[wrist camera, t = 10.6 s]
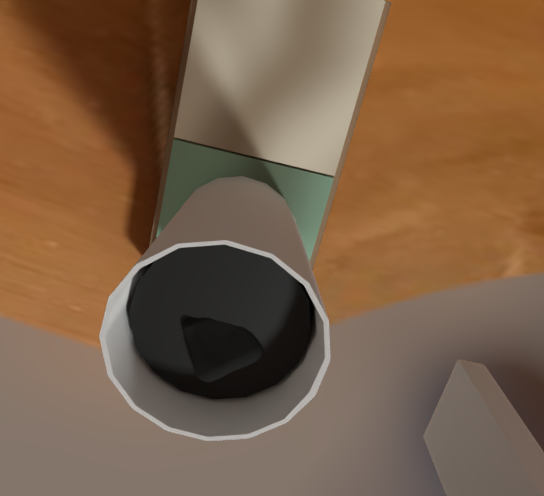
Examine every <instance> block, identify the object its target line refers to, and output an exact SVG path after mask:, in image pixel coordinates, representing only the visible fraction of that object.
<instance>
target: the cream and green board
mask: <svg viewBox="0 0 544 496" xmlns="http://www.w3.org/2000/svg"><path fill="white" fill-rule="evenodd" d="M390 6H391V2H388V1H384V0H191V5H190V11H189V16H188V22H187V28H186V34H185V40H184V46H183V52H182V57H181V63H180V69H179V75H178V81H177V87H176V93H175V98H174V104H173V110H172V116H171V122H170V128H169V134H168V139H167V145H166V151H165V157H164V163H163V169H162V175H161V181H160V186H159V192H158V198H157V204H156V210H155V216H154V222H153V227H152V233H151V239H150V245H149V247H150V246H151V244H152V243H153V242H154V241H155V239H156V238H157V237H158V236H159V234H160V233H161V232H162V231H163V229H164V228H165V227H166V226H167V225H168V223H169V222H170V221H171V220H172V218H173V217H174V216H175V215H176V213H177V212H178V211H179V210H180V208H181V207H182V206H183V205H184V203H185V202H186V201H187V200H188V198H189V197H190V196H191V195H192V194H193V192H194V191H195V190H196V189H197V188H199V187H201V186H203V185H205V184H207V183H209V182H211V181H213V180H215V179H217V178H222V177H235V176H245V177H248V178H251V179H254V180H257V181H260V182H263V183H266V184H268V185H269V186H270V187H271V188H272V189H274V190H275V191H276V192H277V193H278V194H280V195H281V196H282V197H283V198H284V199H285V200H286V202H287V204H288V206H289V208H290V210H291V212H292V214H293V216H294V218H295V219H296V223H297V226H298V229H299V232H300V235H301V238H302V241H303V244H304V247H305V250H306V253H307V256H308V259H309V262H310V265H311V268H312V270H313V266H314V263H315V260H316V256H317V253H318V250H319V246H320V243H321V239H322V236H323V233H324V229H325V226H326V222H327V219H328V216H329V212H330V209H331V205H332V202H333V199H334V195H335V192H336V189H337V185H338V182H339V178H340V175H341V172H342V168H343V165H344V161H345V158H346V155H347V151H348V148H349V144H350V141H351V138H352V134H353V131H354V128H355V124H356V121H357V117H358V114H359V111H360V107H361V104H362V100H363V97H364V94H365V90H366V87H367V83H368V80H369V77H370V73H371V70H372V67H373V63H374V60H375V56H376V53H377V50H378V46H379V43H380V39H381V36H382V33H383V29H384V26H385V22H386V19H387V16H388V12H389V9H390Z"/></svg>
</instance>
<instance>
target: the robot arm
mask: <svg viewBox="0 0 544 496" xmlns="http://www.w3.org/2000/svg"><path fill="white" fill-rule="evenodd" d="M423 438H424V440H425V442H426V445H427V448H428V450H429V452H430V455H431V458H432V460H433V463H434V465H435V468H436V470H437V473H438V475H439V478H440V480H441V483H442V485H443V488H444V490H445V493H446V495H447V496H544V452H543V450H542V449H541V448H540V446H539V445H538V443H537V442H536V440H535V439H534V438H533V436H532V434H531V433H530V431H529V430H528V428H527V427H526V425H525V424H524V423H523V421H522V420H521V418H520V417H519V415H518V414H517V412H516V411H515V409H514V408H513V407H512V405H511V403H510V402H509V400H508V399H507V398H506V396H505V395H504V393H503V392H502V390H501V389H500V387H499V386H498V384H497V383H496V381H495V380H494V378H493V377H492V376H491V374H490V373H489V371H488V370H487V368H486V367H485V365H483V364H478V363H474V362H469V361H465V360H460V359H458V360H457V363H456V365H455V367H454V369H453V371H452V374H451V376H450V378H449V380H448V383H447V385H446V387H445V389H444V391H443V394H442V396H441V398H440V400H439V402H438V405H437V407H436V409H435V412H434V414H433V416H432V418H431V420H430V423H429V425H428V427H427V429H426V431H425V434H424V436H423Z"/></svg>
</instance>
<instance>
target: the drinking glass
mask: <svg viewBox="0 0 544 496" xmlns="http://www.w3.org/2000/svg"><path fill="white" fill-rule="evenodd" d="M99 338H100V342H101V347H102V351H103V356H104V360H105V365H106V369H107V374H108V376H109V378H110V379H111V380H112V382H113V383H114V385H115V386H116V387H117V389H118V390H119V391H120V393H121V394H122V395H123V397H124V398H125V400H126V401H127V402H128V404H129V405H130V406H131V408H132V409H134V410H136V411H137V412H139V413H140V414H142V415H143V416H145V417H146V418H148V419H149V420H151V421H152V422H154V423H155V424H157V425H159V426H160V427H162V428H163V429H165V430H166V431H170V432H173V433H177V434H181V435H186V436H189V437H193V438H197V439H201V440H205V441H216V440H232V439H247V438H251V437H254V436H256V435H258V434H261V433H263V432H265V431H268V430H270V429H273V428H275V427H277V426H280V425H282V424H285V423H287V422H288V421H289V420H290V419H291V418H292V417H293V416H294V415H295V414H296V413H297V412H298V411H299V410H301V409H302V408H303V406H305V405H306V404H307V403H308V402H309V401H310V400H311V399H312V398H313V397H314V396H315V395H316V393H317V390H318V388H319V386H320V383H321V381H322V379H323V376H324V374H325V372H326V369H327V367H328V365H329V362H330V337H329V319H328V316H327V313H326V310H325V307H324V304H323V301H322V298H321V295H320V292H319V289H318V286H317V283H316V280H315V277H314V274H313V271H312V268H311V265H310V262H309V259H308V256H307V253H306V250H305V247H304V244H303V241H302V238H301V235H300V232H299V229H298V226H297V223H296V219H295V218H294V216H293V214H292V212H291V210H290V208H289V206H288V204H287V202H286V200H285V199H284V198H283V197H282V196H281V195H280V194H278V193H277V192H276V191H275V190H274V189H272V188H271V187H270V186H269V185H268V184H266V183H263V182H260V181H257V180H254V179H251V178H248V177H245V176H235V177H222V178H217V179H215V180H213V181H211V182H209V183H207V184H205V185H203V186H201V187H199V188H197V189H196V190H195V191H194V192H193V194H192V195H191V196H190V197H189V198H188V200H187V201H186V202H185V203H184V205H183V206H182V207H181V208H180V210H179V211H178V212H177V213H176V215H175V216H174V217H173V218H172V220H171V221H170V222H169V223H168V225H167V226H166V227H165V228H164V229H163V231H162V232H161V233H160V234H159V236H158V237H157V238H156V239H155V241H154V242H153V243H152V244H151V246H150V247H149V248H148V249H147V251H146V252H145V253H144V254H143V256H142V257H141V258H140V259H139V260H138V262H137V263H136V264H135V265H134V267H133V268H132V269H131V270H130V272H129V273H128V274H127V275H126V277H125V278H124V279H123V280H122V282H121V283H120V284H119V285H118V286H117V288H116V289H115V290H114V291H113V293H112V294H111V295H110V296H109V298H108V302H107V306H106V310H105V315H104V319H103V323H102V327H101V331H100V336H99Z"/></svg>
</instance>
